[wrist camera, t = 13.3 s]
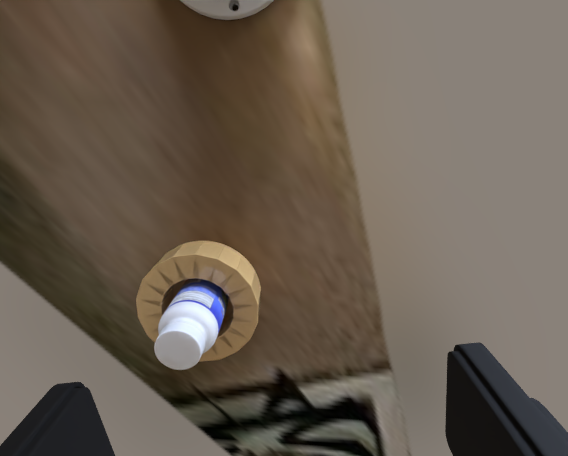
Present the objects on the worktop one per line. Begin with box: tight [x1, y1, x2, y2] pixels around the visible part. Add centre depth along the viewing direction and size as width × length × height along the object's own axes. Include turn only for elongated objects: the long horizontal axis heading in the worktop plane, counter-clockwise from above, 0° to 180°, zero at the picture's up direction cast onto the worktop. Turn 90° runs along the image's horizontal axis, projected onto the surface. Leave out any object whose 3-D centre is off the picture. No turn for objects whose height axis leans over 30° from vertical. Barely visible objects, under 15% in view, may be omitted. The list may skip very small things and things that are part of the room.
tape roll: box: [136, 241, 261, 362], centre depth 35 cm, size 12×12×4 cm
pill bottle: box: [154, 278, 229, 370], centre depth 32 cm, size 5×5×10 cm
